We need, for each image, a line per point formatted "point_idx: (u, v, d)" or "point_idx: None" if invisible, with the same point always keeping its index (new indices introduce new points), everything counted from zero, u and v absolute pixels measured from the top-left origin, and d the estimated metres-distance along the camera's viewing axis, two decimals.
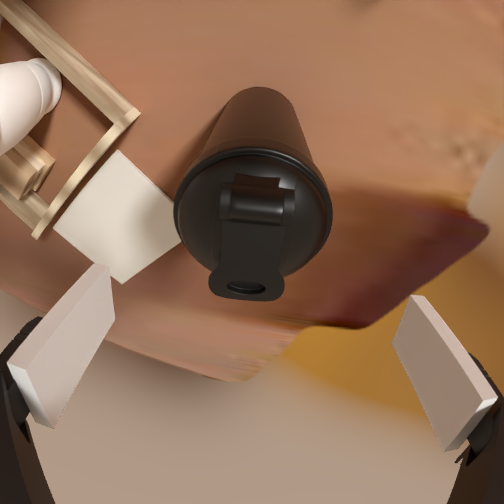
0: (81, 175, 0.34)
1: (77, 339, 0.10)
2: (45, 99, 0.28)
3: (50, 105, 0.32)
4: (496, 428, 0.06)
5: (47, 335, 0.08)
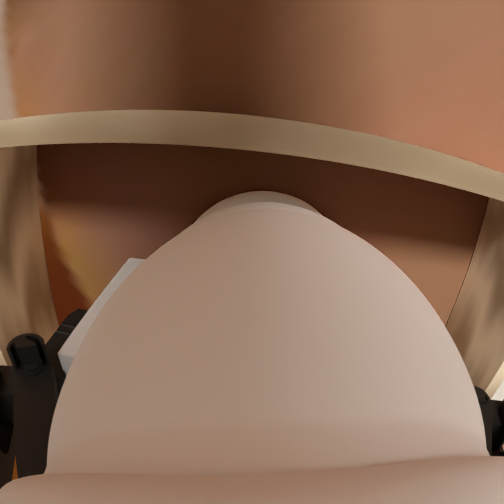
0: None
1: None
2: None
3: None
4: None
5: None
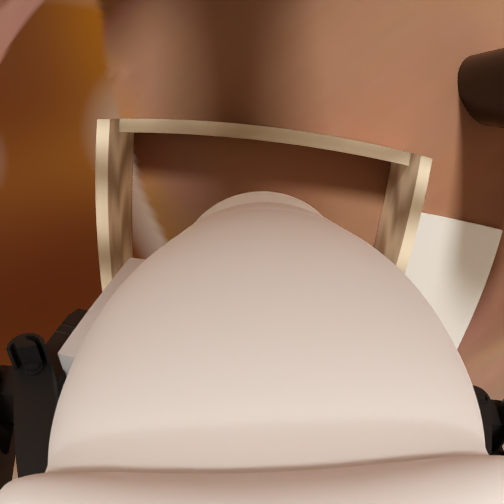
0: (410, 247, 0.27)
1: None
2: None
3: None
4: None
5: None
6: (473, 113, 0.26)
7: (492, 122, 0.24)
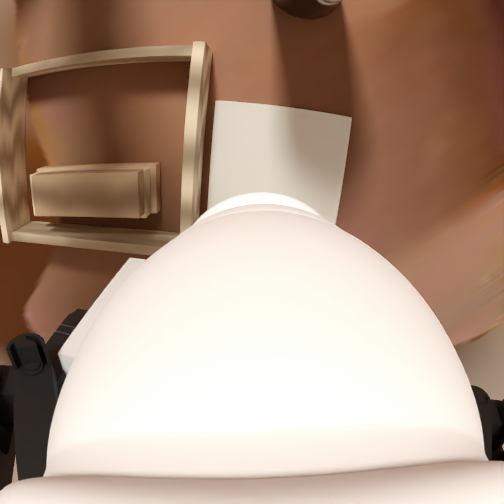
0: (195, 118, 0.30)
1: None
2: None
3: None
4: None
5: None
6: (285, 9, 0.29)
7: (297, 8, 0.27)
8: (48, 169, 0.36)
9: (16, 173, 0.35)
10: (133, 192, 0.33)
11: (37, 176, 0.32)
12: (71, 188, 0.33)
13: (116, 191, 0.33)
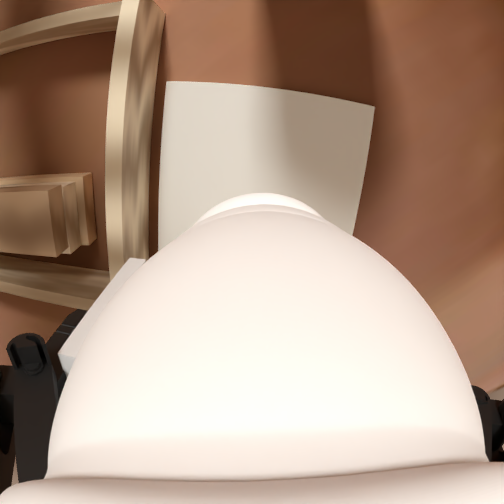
0: (121, 107, 0.17)
1: None
2: None
3: None
4: None
5: None
6: None
7: None
8: None
9: None
10: (45, 220, 0.20)
11: None
12: None
13: (25, 218, 0.20)
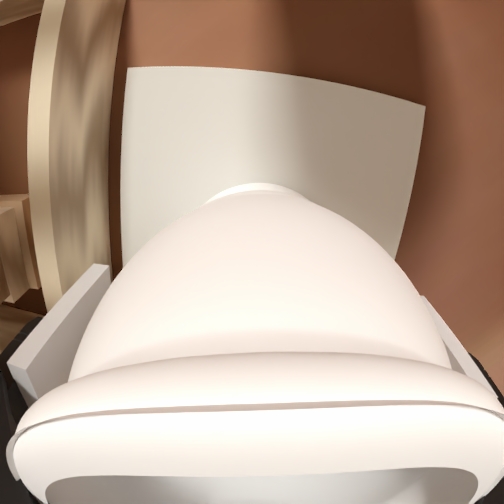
0: (45, 108, 0.10)
1: (77, 339, 0.10)
2: None
3: None
4: None
5: (47, 335, 0.08)
6: None
7: None
8: None
9: None
10: None
11: None
12: None
13: None
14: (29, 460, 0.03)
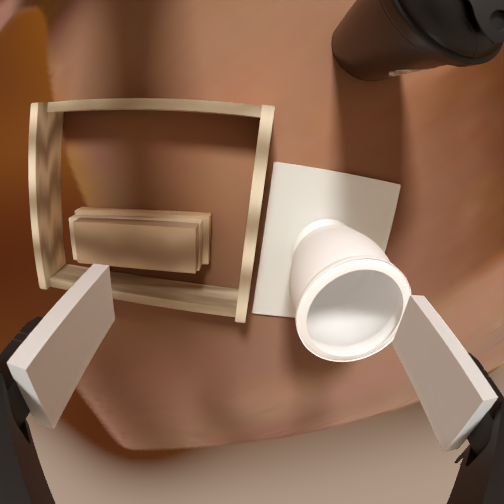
0: (261, 187, 0.32)
1: (77, 339, 0.10)
2: None
3: None
4: (497, 428, 0.06)
5: (47, 335, 0.08)
6: (347, 70, 0.31)
7: (362, 73, 0.29)
8: (88, 212, 0.37)
9: (52, 216, 0.37)
10: (190, 248, 0.34)
11: (80, 223, 0.34)
12: (120, 238, 0.34)
13: (171, 246, 0.34)
14: (322, 280, 0.25)
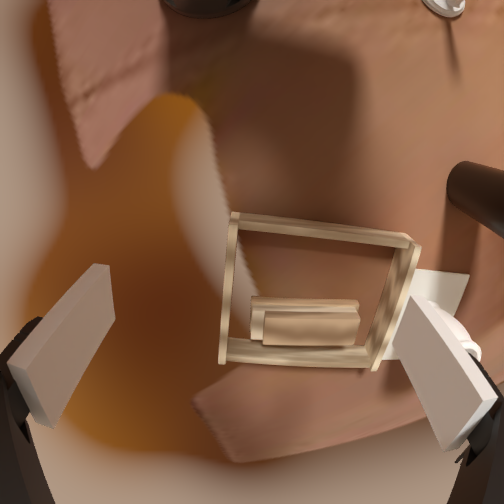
0: (405, 295, 0.46)
1: (77, 339, 0.10)
2: None
3: None
4: (496, 428, 0.06)
5: (47, 335, 0.08)
6: (454, 205, 0.45)
7: None
8: (264, 303, 0.52)
9: (230, 308, 0.51)
10: (354, 331, 0.49)
11: (272, 318, 0.48)
12: (304, 327, 0.49)
13: (342, 330, 0.49)
14: None
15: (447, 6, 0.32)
